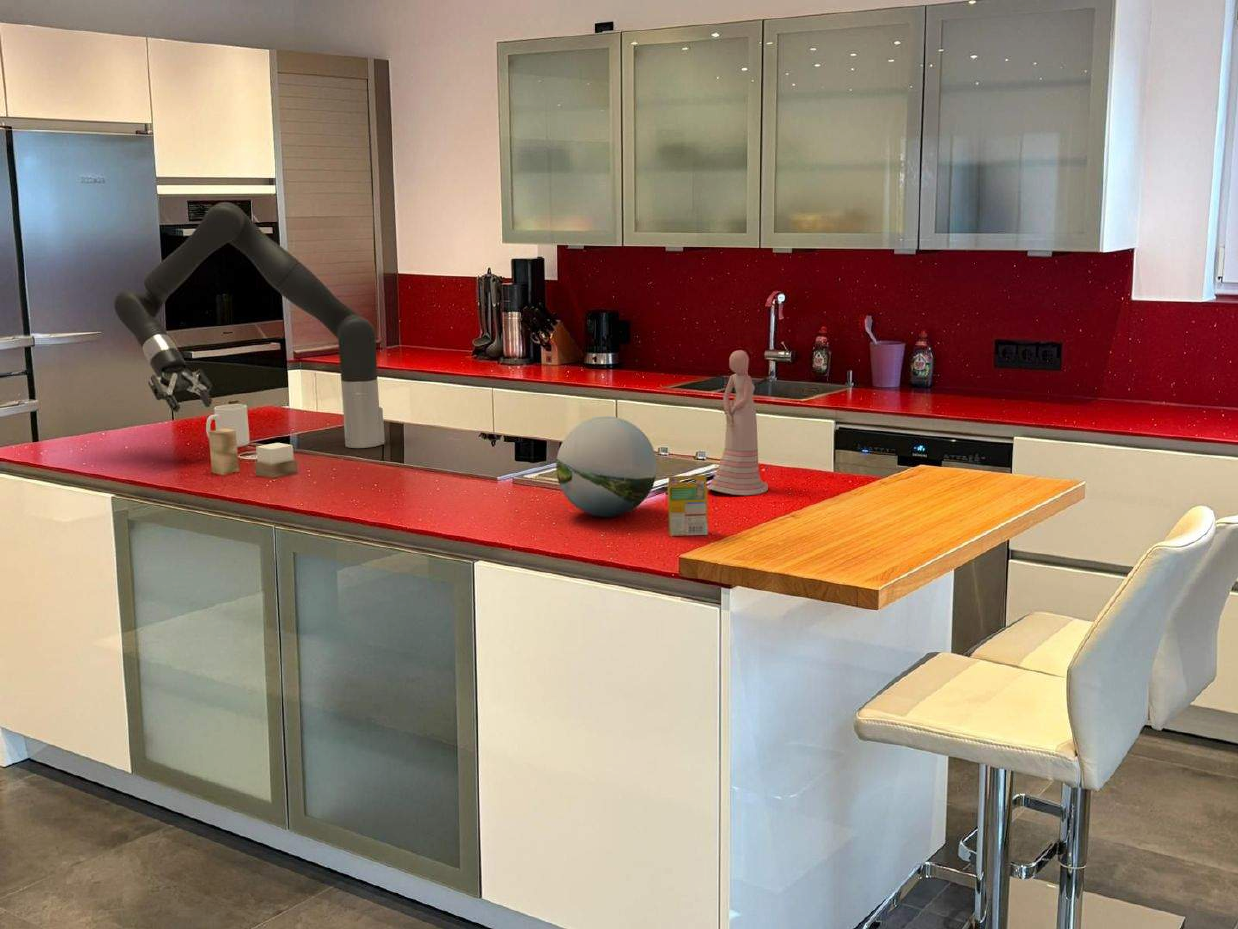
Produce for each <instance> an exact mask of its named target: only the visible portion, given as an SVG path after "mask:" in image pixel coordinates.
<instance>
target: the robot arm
mask: <svg viewBox="0 0 1238 929" xmlns="http://www.w3.org/2000/svg"><path fill="white" fill-rule="evenodd" d="M228 243H229V244H230V245H232V246H233V247H235V248H236V249H237V250H239V251H240V252H241V253H242V254H244V256H246V257H247V258H248V259H249V260H250V261H251V263H252V264H253V266H255V268H256V270H258V272H259V273H260V275H261V276H262V277H263V278H264V279H265V281H266V282H267V283H268V284H269V285H270V286H271V287H272V288H273V289H275V290H276V291H277V292H278V293H280V295H281V296H283V297H284V298H285V299H287V300H288V301H289V302H290V303H292V304H293V305H294V306H296V307H297V308H299V309H300V310H302V311H303V312H305V313H307V314H308V315H311V316H312V317H314V318H315V319H316V320H318V321H319V322H320V323H321V324H322V325H323V326H325V328H326V329H328V330H329V331H330V332H331V334H332V335H333V336H334V337H335V338H336V339H337V342H338V355H339V370H340V381H341V397H342V412H343V425H344V428H343V429H344V441H345V443H344V444H345V447H346V448H352V449H365V448H374V447H377V446H378V447H379V446H381V445H385V442H386V440H385V428H384V424H385V423H384V410H383V408H382V407H380V399H379V398H380V396H379V384H378V383H379V382H378V363H377V362H378V361H377V359H378V358H377V345H376V344H377V343H376V342H377V340H376V333H375V330H374V327H373V325H372V323H371V322H370V321H369V320H368V319H367V318H365V317H363V316H361V315H360V314H359V313H357V312H356V311H354V310H353V309H351V308H350V307H349V306H347V305H346V304H345V303H343V302H342V301H341V300H340V299H339V298H337V297H336V296H335V295H334V294H333V293H332V292H331V291H330V289H329V288H328V287H327V286H326V285H325V284H324V283H323V281H321V280H320V279H319V278H318V277H317V276H316V274H314V273H313V272H312V271H311V270H310V269H309V268H307V267H306V266H305V265H304V264H303V263H302V262H301V261H300V260H298V259H297V258H295V256H293V255H292V254H291V253H290V252H288V251H287V250H286V249H284V247H283V246H281V245H279V244H278V243H277V242H275V241H274V240H273V239H271V238H270V237H269V236H268V235H266V233H264V232H263V231H262V230H261V229H260V228H259V227H258V226H257V225H256V224H255V223H254V222H253V220H251V218H250V217H249V216H248V215H247V214H246V213H245V212H244V211H243V210H242V209H241V208H240V207H239V206H238V205H236V204H235V203H232V202H226V201H223V202H219V203H217V204H214V205H213V206H212V207H210V208H209V209H208V210H207V212H206V214H205V215H204V217H203V219H202V220H201V221H200V223H199V224H198V225H197V227H196V228H195V229H194V231H193V232H192V233H191V234H190V236H188V237H187V239H186V240H185V241H184V242H183V243H182V244H181V245H180V246H179V247H177V248H176V249H175V250H174V251H173V252H172V253H170V254H169V255H168V256H167V257H166V258H165V259H163V260H162V261H161V262H160V263H159V264H158V265H157V266H156V267H155V268H153V270H151V272H149V274H147V275H146V277H145V278H144V280H143V286H144V287H145V289H146V290H145V292H144V294H143V295H142V294H139V293H137V292H135V291H131V290H124V291H121V292H119V293H118V294H117V295H116V297H115V299H114V304H113V306H114V307H113V308H114V311H115V313H116V315H117V317H118V319H119V320H120V321H121V322H122V323H123V325H124V326H125V327H126V328H127V329H128V331H130V332H131V334H132V335H134V337H135V339H136V341H137V342H138V344H139V346H140V348H141V350H142V351H143V354H144V356H145V358H146V361H147V362H148V364H149V365H150V366H151V369H152V371H153V372H154V374H152V375H151V376H150V378H149V380H148V386H149V387H150V390H151V392H152V394H153V395H154V397H155V399H156V400H157V401H161V400H164V401H165V402H166V403H167V405H168V406H169V408H170V410H171V411H173V412H174V413H178V412H179V411H180V409H181V406H180V404H179V402H178V400H177V399H176V397H175V395H174V394H173V391H174V392H180V391H189V392H190V393H195V394H197V395H198V396H199V398H200V400H201V402H202V403H203V405H204V406H205V407H206V408H210V407H211V404H212V402H213V399H212V397H211V395H210V391H211V389H212V387H213V384H212V383H211V382H210V380H209V379H208V377H207V376H206V374H205V372H204V371H203V369H201V368H198V369H197V370H196V371H193V372H192V371H190V370H189V368H188V367H187V363H186V361H185V359H184V358H183V356H182V354H181V352H180V351H179V349H178V348H177V345H176V344H175V343H174V342H173V340H172V339H171V338H170V336H169V334H168V332H167V331H166V330H165V328H164V326H163V324H162V323H161V322H159V320H158V319H155V318H156V317H157V316H158V314H159V313H160V311H161V309H162V307H163V306H164V304H165V302H166V301H167V299H168V298H169V296H170V295H172V294H173V293H174V292H175V291H176V290H177V289H178V288H179V287H181V285H182V284H183V283H184V282H185V281H186V280H187V279H188V278H189V277H190V276H191V275H192V273H194V271H195V270H196V269H197V268H198V266H200V265H201V263H203V262H204V261H205V260H206V259H207V258H208V257H209V256H210V255H211V254H213V253H214V252H215V251H217V250H218V249H220V248H222V247H223V246H224V245H226V244H228ZM162 385H163V386H164V387H165V391H164V389H163V387H162ZM191 385H193V386H191Z"/></svg>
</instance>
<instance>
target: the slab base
mask: <svg viewBox="0 0 1238 929" xmlns="http://www.w3.org/2000/svg"><path fill="white" fill-rule="evenodd" d="M253 463H254V473H255V476H259V477H264V478H268V479H278V478H281V477H282V478H283V477H287V476H291V475H296V474H298V472H299V471H298V460H297V459H294V460H291V461H286V462H281V463H276V464H268V463H263V462H258V461H257V460H256V461H254V462H253Z"/></svg>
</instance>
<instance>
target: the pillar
mask: <svg viewBox="0 0 1238 929" xmlns="http://www.w3.org/2000/svg"><path fill="white" fill-rule="evenodd" d="M208 432H209V438H208V441H209V451H210V452H209V453H210V464H211V473H212V472H213V474H217V475H222V476H225V475H230V474H234V473H233V472H235V473H239V472H240V467H239V454H238V447H237V440H236V430H230V429H220V430H216V429H214V430H210V431H208ZM229 473H230V474H229Z"/></svg>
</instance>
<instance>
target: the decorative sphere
mask: <svg viewBox="0 0 1238 929" xmlns="http://www.w3.org/2000/svg"><path fill="white" fill-rule="evenodd" d="M657 463H658V462H657V457H656V452H655V450H654V447H653V445H652V443H651V441H650V439H649V438H648V437H647V435H646V434H645V433H644V432H643V431H642V430H641V429H640V428H639V427H637V425H635V424H634V423H632V422H630V421H628V420H626V419H623V418H620V417H616V416H598V417H593V418H590V419H588V420H585V421H583V422H581V423H579V424H578V425H577V426H575V427H574V428H573V429H571V431H569V433H567V435H566V436H565V438H564V439H563V440H562V442H561V445H560V447H559V449H558V452H557V457H556V462H555V464H556V465H555V467H556V470H555V471H556V478H557V482H558V485H559V488H560V489H561V491H562V493H563V494H564V497H566V499H567V500H568V501H569V502H570V503H571V504H572V505H573V506H574V507H576V508H577V509H578V510H580V511H581V512H584V513H585V514H588V515H592V516H595V517H600V518H612V517H613V518H614V517H619V516H623V515H625V514H628V513H630V512H632V511H633V510H635V509H636V508H637V507H639V506H640V505H641V504H642V503H643V502H644V501H645V500H646V499H647V497H648V496H649V494H650V493H651V491H652V489H653V487H654V483H655V482H656V477H657V470H658V464H657Z"/></svg>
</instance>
